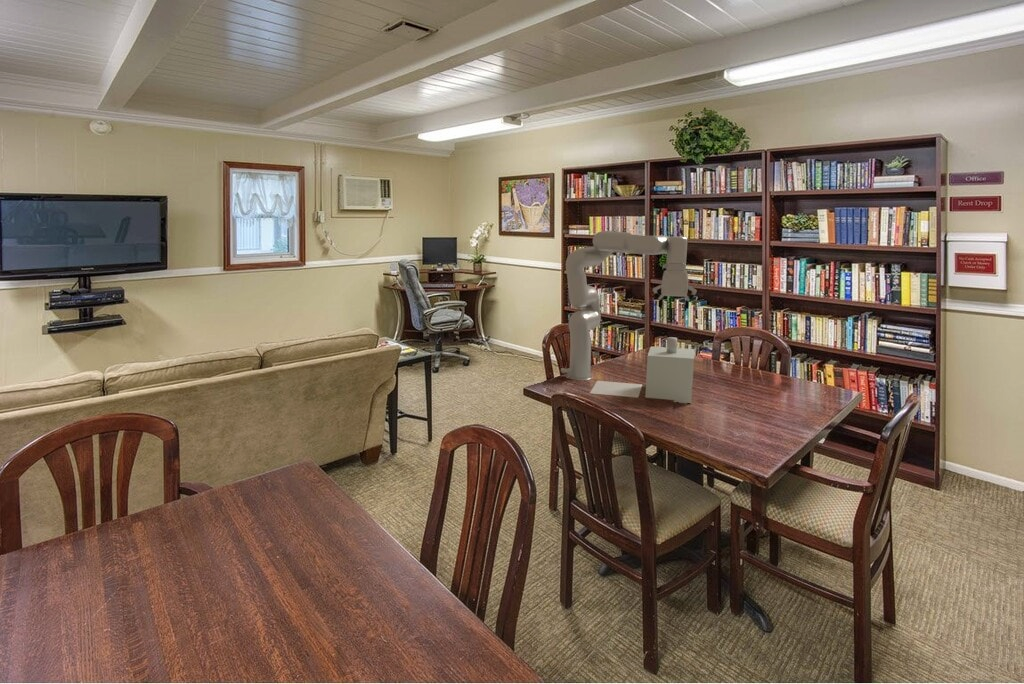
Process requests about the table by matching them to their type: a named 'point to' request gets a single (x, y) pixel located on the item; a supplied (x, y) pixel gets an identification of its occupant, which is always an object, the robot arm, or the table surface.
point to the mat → (617, 389)
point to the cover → (670, 372)
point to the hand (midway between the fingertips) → (673, 309)
